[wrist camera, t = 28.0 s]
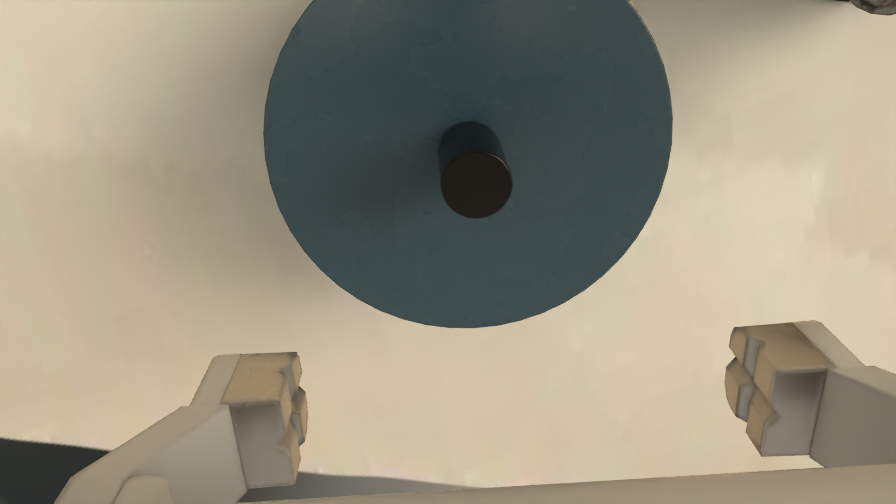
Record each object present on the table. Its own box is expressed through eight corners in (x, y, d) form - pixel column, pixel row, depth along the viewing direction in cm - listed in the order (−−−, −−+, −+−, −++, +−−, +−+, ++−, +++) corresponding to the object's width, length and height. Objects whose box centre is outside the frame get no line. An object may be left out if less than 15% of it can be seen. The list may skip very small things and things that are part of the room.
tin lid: (184, 81, 27) (134, 112, 22) (546, -169, 24) (576, -194, 19) (410, 373, 32) (408, 447, 28) (725, 200, 29) (782, 250, 25)
